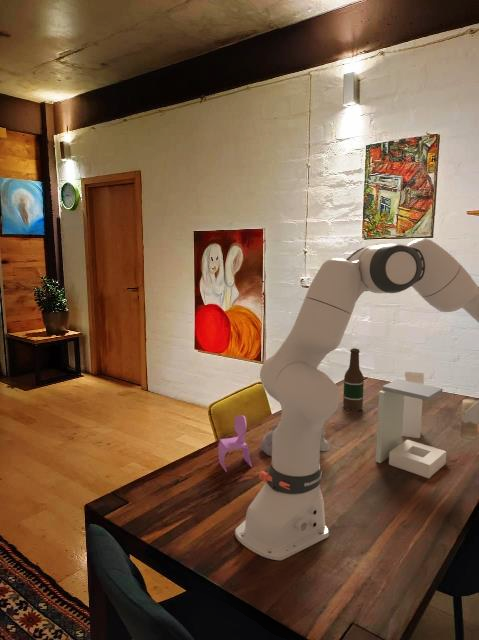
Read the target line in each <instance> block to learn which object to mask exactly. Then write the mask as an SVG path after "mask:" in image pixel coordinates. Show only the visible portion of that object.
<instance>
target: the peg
mask: <svg viewBox="0 0 479 640" xmlns="http://www.w3.org/2000/svg"><path fill="white" fill-rule="evenodd" d="M477 401H478V400H475V399H471V398H466V399H465V398H464V399H463V400H462V402H461V404H462V405H461V406H462V407H461V418H462V417H463V416H464V415H466V414H465V412H466V411H467V410H468V409H469V408H470V407H471V406H472V405H473V404H475V403H476V402H477ZM460 421H461V422H460V423H461V425H460V438H463V439H465V440H471V441H472V440H477V438H478V427H479V425H478V424H479V423H476V424H473V423H472V422H471V421H469V422H467V423H464V422H463V420H462V419H461V420H460Z"/></svg>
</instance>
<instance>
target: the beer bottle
mask: <svg viewBox="0 0 479 640" xmlns="http://www.w3.org/2000/svg"><path fill="white" fill-rule="evenodd" d="M360 353H361V352H360V349H359V348H351V349H350V356H349V365H348V366H349V367H348V369H347V370H346V371H345V374H344V378H343V398H342V399H343V403H342V405H343V408H344V409H345V410H348V411H354V412H355V411H356V412H357V411H360V410H363V406H364V405H363V404H364V384H365V383H364V376H363V373H362V370H361V368H360Z"/></svg>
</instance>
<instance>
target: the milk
mask: <svg viewBox="0 0 479 640" xmlns="http://www.w3.org/2000/svg"><path fill="white" fill-rule="evenodd" d="M424 377H425V374H424V373H423V372H418V371H417V372H413V371H405V372H404V381H409V382H414V383H419V384H423V385H425V384H424V380H425V379H424ZM423 401H424V400H422V399H418V398H414V397H409V396H405V395H404V411H403V428H402V437H407V438H414V439H421V432H422V430H421V429H422V413H423Z"/></svg>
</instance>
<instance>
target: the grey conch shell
mask: <svg viewBox="0 0 479 640" xmlns="http://www.w3.org/2000/svg"><path fill="white" fill-rule="evenodd" d="M277 426H279V423H276V424H274V425H273V428H272V429H270V430H269V431H268V432H267V433H266V434H264V436H263V437H262V440H261V445H260V447H261V450H262V451H263V452H264V453H265V454H266V456H270V457H272V434H273V431H274V429H275V428H276V427H277Z"/></svg>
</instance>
